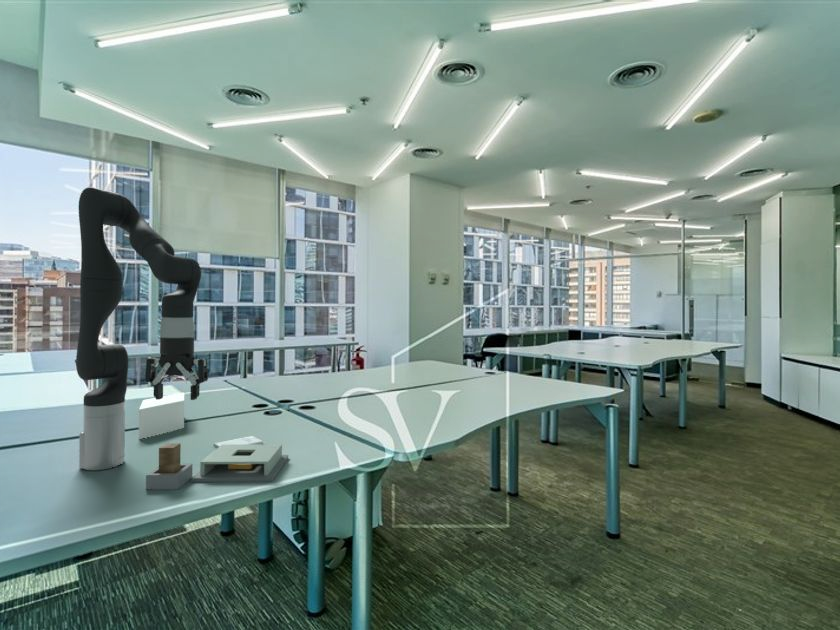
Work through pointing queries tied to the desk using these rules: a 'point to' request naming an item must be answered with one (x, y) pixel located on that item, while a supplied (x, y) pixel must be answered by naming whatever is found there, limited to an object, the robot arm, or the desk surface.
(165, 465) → the brown block
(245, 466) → the breaker button
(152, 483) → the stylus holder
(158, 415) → the white rectangular box
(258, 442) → the external hard drive
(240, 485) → the desk surface
